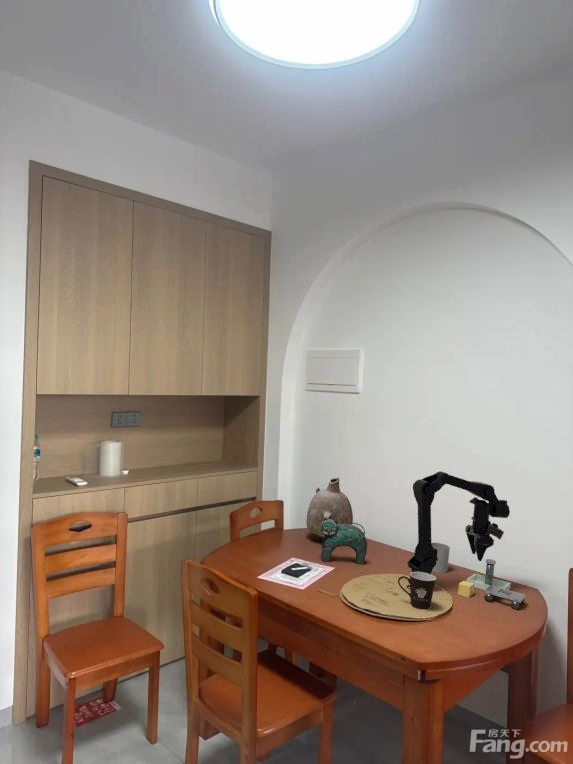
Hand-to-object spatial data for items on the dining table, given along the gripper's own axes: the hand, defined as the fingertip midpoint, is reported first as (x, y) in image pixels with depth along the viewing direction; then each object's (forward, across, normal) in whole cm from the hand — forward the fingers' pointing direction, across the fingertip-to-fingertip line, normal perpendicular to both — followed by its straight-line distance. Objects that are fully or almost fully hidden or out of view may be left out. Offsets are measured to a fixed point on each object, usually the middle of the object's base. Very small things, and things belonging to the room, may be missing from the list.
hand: (476, 557), depth 208 cm
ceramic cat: (+13, +13, +50) cm, 53 cm away
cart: (+12, -11, -8) cm, 18 cm away
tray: (+12, +3, -6) cm, 13 cm away
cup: (+12, +18, +10) cm, 24 cm away
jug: (+13, +42, +56) cm, 72 cm away
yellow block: (+12, -8, +4) cm, 15 cm away
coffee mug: (+13, -25, +25) cm, 37 cm away
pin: (+11, +3, -6) cm, 13 cm away
